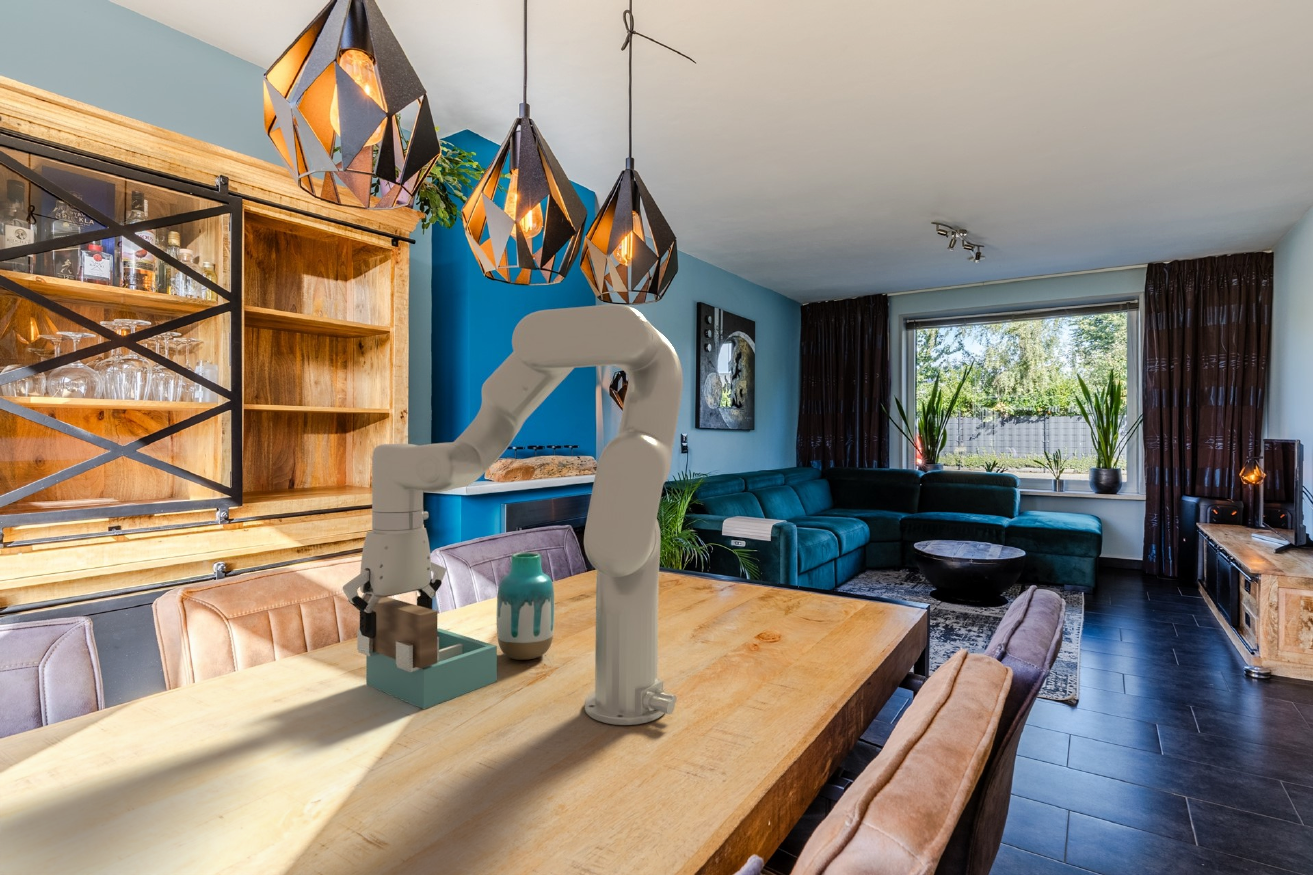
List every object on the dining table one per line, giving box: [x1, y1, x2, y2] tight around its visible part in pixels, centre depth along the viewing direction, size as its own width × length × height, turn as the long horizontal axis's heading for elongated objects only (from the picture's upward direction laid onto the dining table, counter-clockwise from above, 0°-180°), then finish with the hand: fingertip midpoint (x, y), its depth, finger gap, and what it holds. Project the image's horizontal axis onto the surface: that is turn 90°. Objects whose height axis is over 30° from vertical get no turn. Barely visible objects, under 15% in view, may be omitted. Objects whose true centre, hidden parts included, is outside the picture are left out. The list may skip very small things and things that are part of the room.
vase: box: [496, 552, 556, 661], centre depth 123 cm, size 11×11×19 cm
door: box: [373, 596, 438, 668], centre depth 105 cm, size 16×3×8 cm, turn 54°
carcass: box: [365, 627, 498, 710], centre depth 110 cm, size 16×14×6 cm
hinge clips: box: [356, 627, 439, 672], centre depth 105 cm, size 14×5×4 cm, turn 54°
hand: (397, 628), depth 105 cm, fingers open, 9 cm apart
